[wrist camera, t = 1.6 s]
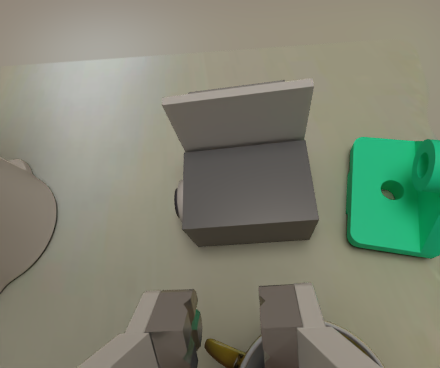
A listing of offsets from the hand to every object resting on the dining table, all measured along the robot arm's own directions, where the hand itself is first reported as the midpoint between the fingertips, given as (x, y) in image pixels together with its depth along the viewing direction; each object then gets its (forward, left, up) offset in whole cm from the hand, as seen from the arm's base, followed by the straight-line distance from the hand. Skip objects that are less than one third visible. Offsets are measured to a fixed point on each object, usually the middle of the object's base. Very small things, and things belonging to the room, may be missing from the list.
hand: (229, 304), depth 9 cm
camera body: (0, +11, -23) cm, 26 cm away
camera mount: (+15, +11, -24) cm, 30 cm away
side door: (0, +16, -22) cm, 28 cm away
